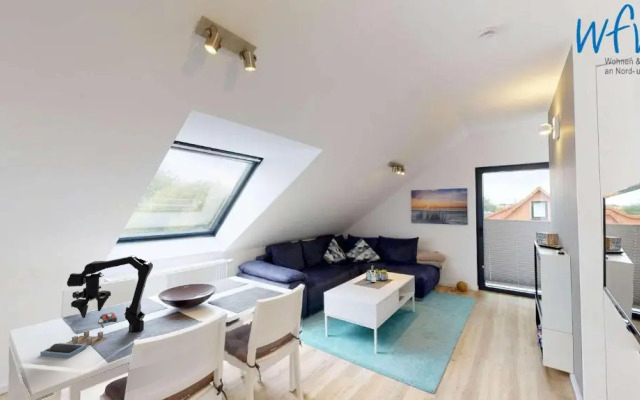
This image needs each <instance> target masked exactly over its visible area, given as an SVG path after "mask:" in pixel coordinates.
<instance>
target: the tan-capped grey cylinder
mask: <svg viewBox="0 0 640 400" xmlns="http://www.w3.org/2000/svg"><path fill="white" fill-rule="evenodd" d="M69 344H70V343H67V344H58V343H54V344H52V345H50V346H49V348H50V349H49V350H50V352H59V353H71V352H73V351H74V350H76V349H77V345H69Z"/></svg>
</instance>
